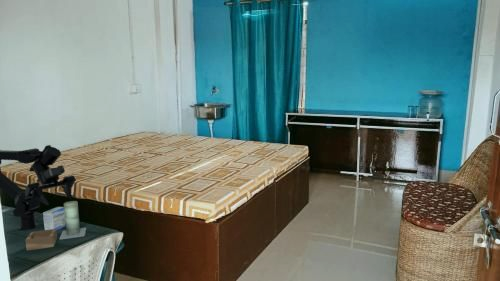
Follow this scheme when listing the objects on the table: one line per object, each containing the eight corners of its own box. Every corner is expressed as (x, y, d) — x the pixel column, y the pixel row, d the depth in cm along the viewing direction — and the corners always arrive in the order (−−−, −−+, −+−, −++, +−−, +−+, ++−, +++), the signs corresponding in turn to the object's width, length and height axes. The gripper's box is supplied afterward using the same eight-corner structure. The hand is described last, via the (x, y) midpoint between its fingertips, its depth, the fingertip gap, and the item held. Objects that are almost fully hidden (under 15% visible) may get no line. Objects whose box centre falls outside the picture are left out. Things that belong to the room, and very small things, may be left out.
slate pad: (63, 231, 152) (62, 230, 152) (86, 228, 155) (86, 227, 155) (59, 239, 144) (59, 238, 144) (84, 236, 147) (84, 234, 147)
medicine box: (53, 232, 152) (51, 212, 151) (44, 232, 153) (42, 212, 152) (66, 226, 160) (65, 206, 158) (57, 225, 160) (56, 206, 159)
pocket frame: (32, 241, 142) (31, 232, 142) (57, 238, 145) (56, 228, 145) (26, 250, 134) (25, 240, 133) (53, 246, 137) (52, 236, 136)
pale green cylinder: (67, 231, 151) (64, 201, 150) (80, 229, 152) (78, 200, 151) (65, 235, 146) (63, 204, 145) (79, 233, 148) (76, 203, 147)
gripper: (24, 164, 142) (41, 195, 137) (71, 156, 157) (88, 184, 152) (18, 181, 147) (33, 212, 142) (63, 173, 162) (79, 200, 157)
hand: (59, 201), depth 148 cm, fingers open, 9 cm apart
